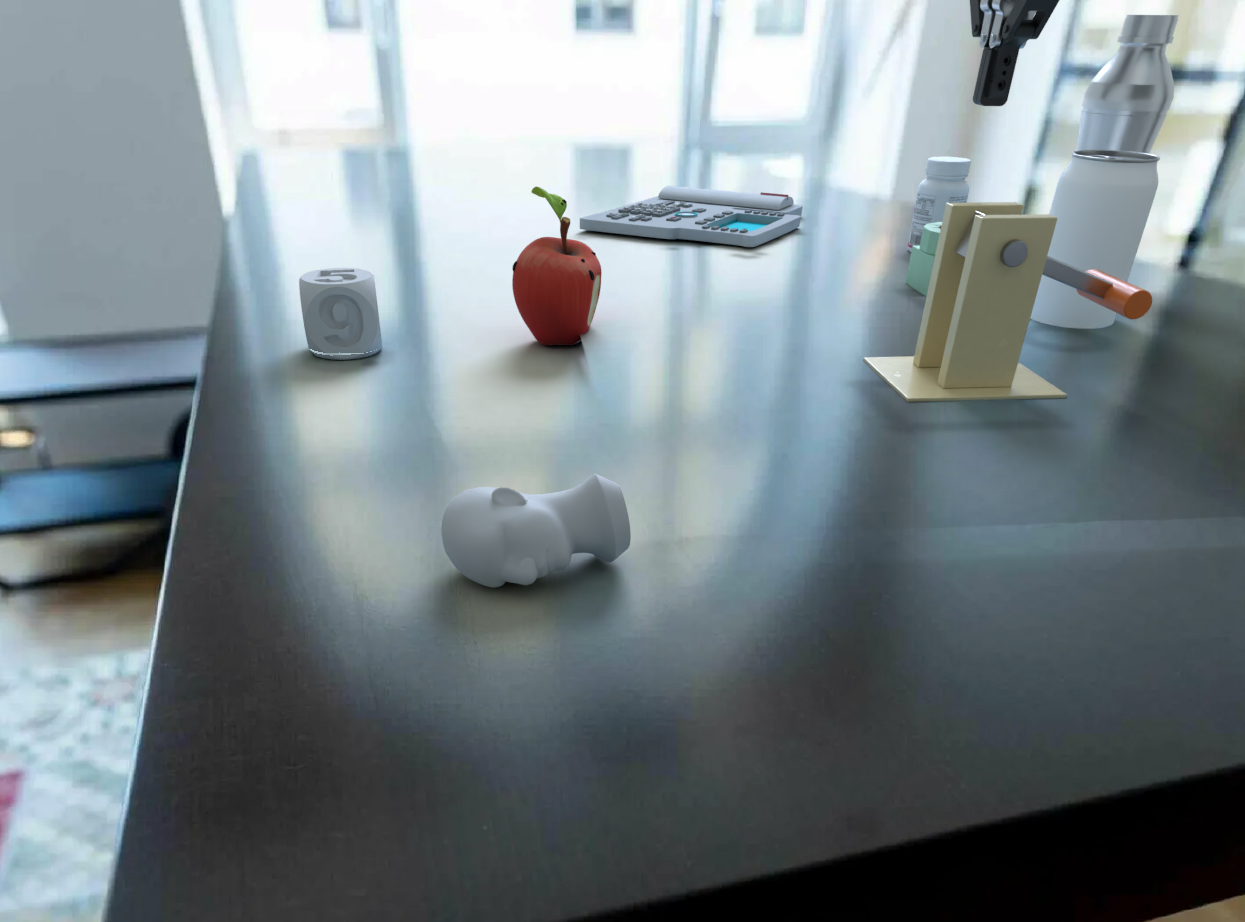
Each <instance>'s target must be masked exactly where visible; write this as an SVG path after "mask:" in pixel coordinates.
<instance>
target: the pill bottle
mask: <svg viewBox="0 0 1245 922" xmlns="http://www.w3.org/2000/svg"><path fill="white" fill-rule="evenodd" d="M971 162H972V160H971V159H969V158H966V157H960V156H959V157H957V156H932V157H931V156H930V157H928V159H927V161H926V166H925V171H924V172H925V173H924V175H925V176H926V178H925V179H923V180H922V181H921V182H920V183H919V185H918V187H917V188H918V189H917V193H916V199H915V204H914V210H913V215H912V221H911V226H910V231H909V237H908V243H907V251H908V252H909V253H911V251H912V246H920V243H921V238H922V233H923V228H924V226H925V225H926V224H929V223H935V222H942V221H943V216H944V211H945V206H946V203H968V198H969V192H970V185H969V184H970V183H969V182H968V181H966V178H968V177H969V175H968V174H969V173H970V170H971V169H970V168H971Z"/></svg>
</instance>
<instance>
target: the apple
mask: <svg viewBox="0 0 1245 922" xmlns="http://www.w3.org/2000/svg"><path fill="white" fill-rule="evenodd" d="M530 192H531V194H533V195H535V196H538V197H539V198H543V199H545V200H546V201H547V203H548V204H549V206H550V207H551V209H552V210H553V212H554V213H555V215H556V217H557V218H558V221H559V224H560V226H559V233H560V237H555V236H542V237H539V238H536V239H534V240H533V241H531V242H530V243H529V244H527V245H526V246H525V247H524V248H523V249H522V251H521V252H520V254H519V255H518V257H517V259H516V260H515V261H514V263H513V264H512V278H511V279H512V280H511V282H512V283H511V284H512V287H511V288H512V293H513V298H514V301H515V302H514V303H515V305H516V308H517V311H518V313H519V315H520V317H521V319H522V321H523V323H524V324H525V325H526V327H527V328H528V330H529V332H530V333H531V334H532V336H533V338H534V340H536V341H537V342H538V343H539V344H540V345H543V346H574V345H576V344H578V343H580V342H581V341H582V335H584V334H587V333H588V332H589V330H590V328H591V324H592V323H593V319H594V316H595V313H596V309H597V305H598V302H599V299H600V294H601V287H602V266H601V262H600V261H599V258H598V256H597V255H596V252H594V251H593V249H592V248H591V247H590V246H589V245H587V244H586V243H584V242H582V241H580V240H576V239H571V238H568V232H569V229H570V225H571V218H570V217H567V216H564V214H565V213H566V209H567V207H568V204H567V203H568V202H567V200H566V199H564V198H563V197H562V196H560V195H558V194H556V193H549V192H548V191H547V190H545V189H544V188H542V187H540V186H536V185H535V186H534V187H533V188H532V189H531V191H530Z"/></svg>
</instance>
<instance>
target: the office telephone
mask: <svg viewBox="0 0 1245 922" xmlns="http://www.w3.org/2000/svg"><path fill="white" fill-rule="evenodd" d="M794 201H795V200H794V198H793V197H792V196H789V194H783V193H772V192H761V191H760V193H754V192H742V191H734V190H733V191H732V190H722V189H712V188H711V189H710V188H699V187H689V186H677V185H666V186H665V187H663V188H662V189H661V190H660V191H659V193H658V195H657V196H653V197H650V198H646V199H643V200H639V201H636V202H633V203H629V204H626V205H622V206H619V207H615V208H613V209H612V208H611V209H609V210H606V211H605V210H604V211H601V212H598V213H594V214H590V215H586V216H583V217H580V218H579V229H580V230H584V231H591V232H601V233H608V234H619V235H626V236H635V237H636V236H637V237H645V238H655V239H664V240H677V239H678V240H688V241H697V242H707V243H714V244H722V245H733V246H741V247H744V248H754V247H758V246H760V245H762V244H765V243H768V242H769V241H772V240H774V239H776V238H779V237H781V236H783V235H786V234H787V233H790V232H792V231H794V230H796V229H798V228H799V227H800V224H801V217H802V215H803V205H801V204H796V203H795V202H794ZM794 203H795V204H794Z"/></svg>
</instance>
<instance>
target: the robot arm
mask: <svg viewBox="0 0 1245 922" xmlns="http://www.w3.org/2000/svg"><path fill="white" fill-rule="evenodd" d="M1059 2H1060V0H969V9H970V11H969V12H970V23H971V36H972V38H979V46H980V48H983V50H982V52H981V53H982V54H981V58H980V62H979V67H978V72H977V77H976V81H975V87H974V90H973V96H972V102H973V103H974V105H978V106H981V107H982V106H983V107H1003V106H1005V105H1006V104H1007V102H1008V100H1009V95H1010V91H1011V87H1012V82H1013V78H1014V74H1015V70H1016V65H1017V61H1018V57H1019V52H1020V50H1022V49H1024V48H1025V46H1026V45H1027V43H1028V41H1029V40H1037V39H1038V38H1039V37H1040V35H1041V33H1042V32H1043V30H1044V28H1045V27H1046V25H1047V23H1048V22H1049V20H1050V18H1051V16H1052V14H1053V13H1054V11H1055V9H1056V7H1057V5H1058V4H1059Z"/></svg>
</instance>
